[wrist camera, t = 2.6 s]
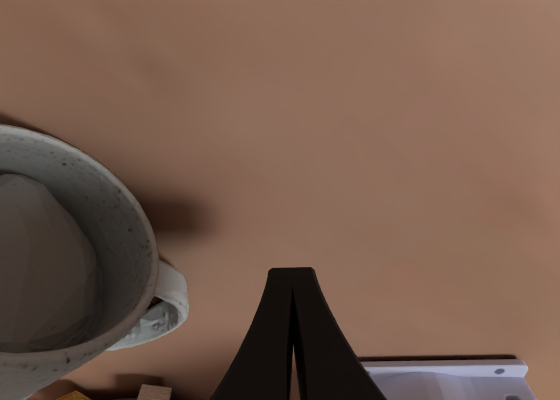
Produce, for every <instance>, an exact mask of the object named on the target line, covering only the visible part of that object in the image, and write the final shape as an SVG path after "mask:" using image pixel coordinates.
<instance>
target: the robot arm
mask: <svg viewBox="0 0 560 400" xmlns="http://www.w3.org/2000/svg"><path fill="white" fill-rule="evenodd" d="M293 346H294V354H295V362H296V370H297V378H298V385H299V393H300V400H537V399H536V397H535V395H534V393H533V392H532V390H531V388H530V387H529V385H528V383H527V382H526V380H525V378H524V376H525V374H526V373H527V371H528V367H527V365H526V364H525V362H524V361H523V360H520V359H496V360H435V361H374V362H360V361H359V359H358V358H357V356H356V355H355V353H354V352H353V350H352V348H351V347H350V345H349V343H348V342H347V340H346V338H345V337H344V335H343V333H342V331H341V330H340V328H339V326H338V324H337V322H336V320H335V318H334V316H333V314H332V312H331V311H330V309H329V306H328V304H327V302H326V300H325V298H324V296H323V293H322V291H321V288H320V286H319V283H318V280H317V277H316V274H315V270H314V269H313V268H311V267H298V268H272V269H270V270H269V271H268V277H267V282H266V286H265V289H264V292H263V295H262V298H261V301H260V304H259V306H258V309H257V311H256V314H255V316H254V319H253V321H252V324H251V326H250V328H249V330H248V332H247V334H246V336H245V339H244V341H243V343H242V345H241V347H240V349H239V351H238V353H237V355H236V357H235V358H234V360H233V362H232V364H231V366H230V368H229V369H228V371H227V373H226V374H225V376H224V378H223V380H222V381H221V383H220V384H219V386H218V388H217V389H216V391H215V392H214V394H213V396H212V397H211V399H210V400H290V391H291V374H292V356H293Z"/></svg>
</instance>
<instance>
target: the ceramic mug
mask: <svg viewBox="0 0 560 400" xmlns="http://www.w3.org/2000/svg"><path fill="white" fill-rule="evenodd" d="M153 296H156V297H158V298H160V299H162V300H164V301H162V302H161V303H159V304H157V305H155V306H153V307H152V308H150V309H149V310H147V308H148V306H149V304H150V302H151V300H152V298H153ZM146 310H147V311H146ZM188 313H189V302H188V292H187V284H186V281H185V278H184V276H183V275H182V273H181V272H180V271H179V270H178V269H176V268H175V267H173V266H171V265H169V264H168V263H166V262H164V261H162V260H160V259H159V254H158V248H157V242H156V238H155V235H154V232H153V229H152V226H151V223H150V221H149V220H148V218H147V216H146V214H145V212H144V211H143V209H142V207H141V205H140V204H139V202H138V201H137V199H136V198H135V197H134V196H133V195H132V193H131V192H130V191H129V190H128V189H127V188H126V186H125V185H124V184H123V183H122V182H121V181H120V180H119V179H118V178H117V177H116V176H115V175H113V174H112V173H111V172H110V171H109V170H108V169H107V168H105V167H104V166H103V165H101V164H100V163H99V162H97V161H96V160H95V159H93V158H92V157H90V156H89V155H87V154H85V153H84V152H82V151H81V150H79V149H77V148H75V147H73V146H71V145H69V144H67V143H65V142H63V141H61V140H59V139H56V138H54V137H52V136H49V135H46V134H42V133H39V132H36V131H32V130H29V129H26V128H22V127H18V126H12V125H6V124H0V400H25V399H27V398H28V397H30V396H31V395H32V394H34V393H35V392H37V391H38V390H40V389H42V388H44V387H46V386H48V385H50V384H51V383H53V382H55V381H56V380H58V379H59V378H61V377H63V376H64V375H66V374H68V373H70V372H71V371H73V370H75V369H77V368H78V367H80V366H82V365H83V364H85V363H86V362H88V361H90V360H91V359H93V358H94V357H96V356H98V355H99V354H101V353H102V352H104V351H107V350H117V349H122V348H128V347H132V346H136V345H140V344H143V343H147V342H150V341H152V340H155V339H158V338H159V337H161V336H164V335H166V334H168V333H169V332H171V331H173V330H175V329H176V328H178V327H179V326H180V325H181V324H182V323H183V322H184V321H185V320H186V319H187V317H188Z"/></svg>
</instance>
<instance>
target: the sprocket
mask: <svg viewBox="0 0 560 400" xmlns="http://www.w3.org/2000/svg"><path fill="white" fill-rule="evenodd" d="M171 391H172V388H168V387H161V386H153V385H146V384H142V386H141V389H140V392H139V395H138V398H127V399H114V400H170V398H171ZM56 400H91V399H89V398H88V397H86V396H85V395H83V394H81V393H80V392H78V391H77V390H76V391H73V392H71V393H69V394H66V395H64V396H62V397H59V398H57V399H56Z"/></svg>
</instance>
